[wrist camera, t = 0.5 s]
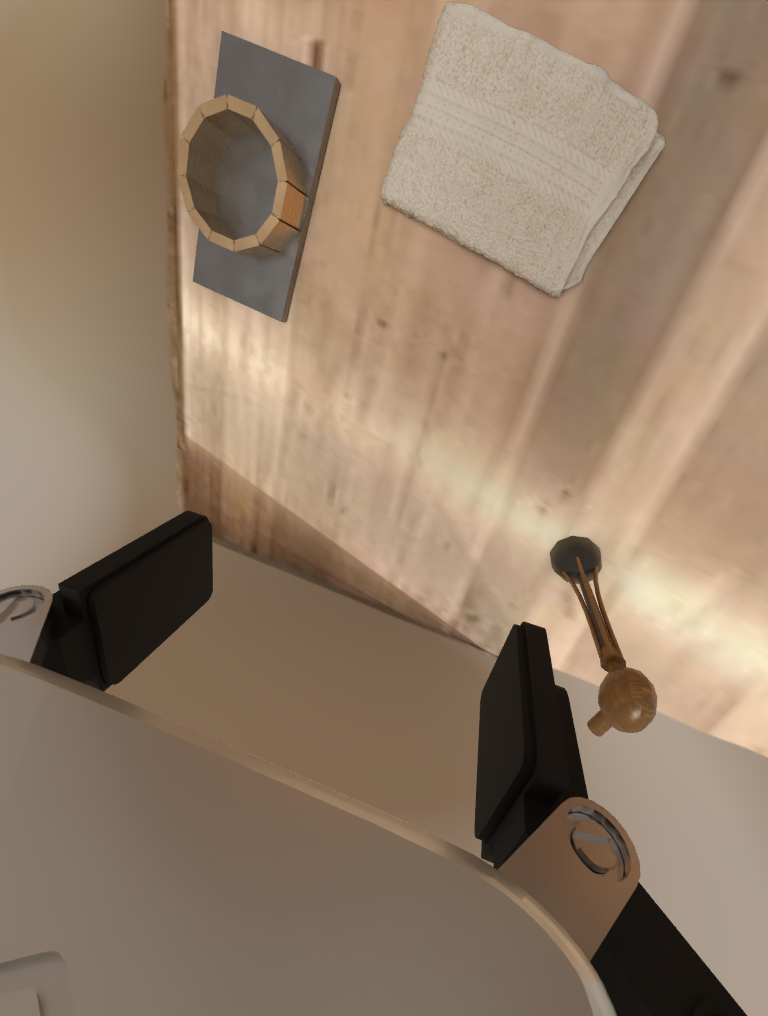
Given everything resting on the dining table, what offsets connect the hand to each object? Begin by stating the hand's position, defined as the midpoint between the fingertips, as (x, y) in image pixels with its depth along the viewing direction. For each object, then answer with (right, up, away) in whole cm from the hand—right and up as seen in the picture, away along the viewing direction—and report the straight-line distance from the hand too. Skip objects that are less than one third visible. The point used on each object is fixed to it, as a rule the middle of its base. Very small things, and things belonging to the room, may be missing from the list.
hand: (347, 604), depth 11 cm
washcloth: (+11, +29, +19) cm, 36 cm away
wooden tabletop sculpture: (+21, -3, +30) cm, 36 cm away
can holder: (-10, +31, +23) cm, 40 cm away
